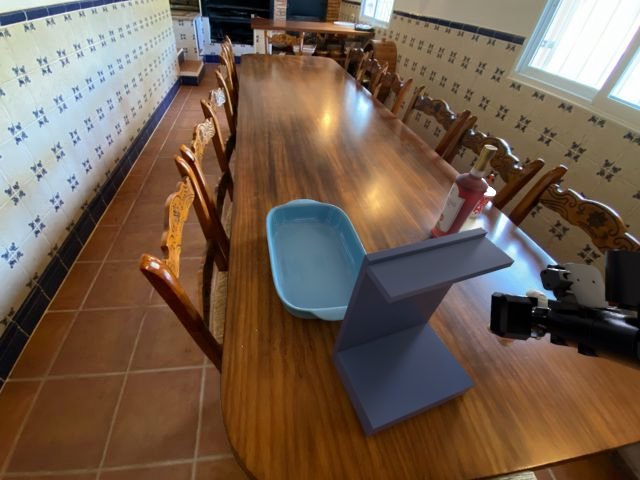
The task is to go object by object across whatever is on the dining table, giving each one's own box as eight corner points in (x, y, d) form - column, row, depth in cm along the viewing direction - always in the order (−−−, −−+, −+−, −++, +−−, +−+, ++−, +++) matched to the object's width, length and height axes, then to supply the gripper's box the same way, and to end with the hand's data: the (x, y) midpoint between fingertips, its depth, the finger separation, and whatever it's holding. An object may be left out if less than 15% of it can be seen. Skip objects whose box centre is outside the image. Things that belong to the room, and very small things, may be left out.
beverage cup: (483, 213, 94) (507, 175, 86) (478, 221, 91) (502, 183, 82) (463, 204, 97) (484, 167, 89) (457, 212, 94) (478, 174, 85)
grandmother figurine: (476, 324, 56) (510, 280, 48) (489, 317, 57) (524, 273, 50) (516, 361, 51) (561, 318, 43) (529, 352, 52) (575, 308, 44)
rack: (465, 393, 52) (572, 300, 34) (367, 437, 46) (435, 351, 28) (417, 327, 62) (481, 227, 44) (330, 356, 56) (364, 254, 38)
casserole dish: (386, 330, 60) (396, 311, 56) (278, 344, 57) (280, 324, 52) (336, 216, 88) (340, 196, 84) (261, 220, 85) (261, 200, 80)
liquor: (424, 228, 86) (467, 139, 69) (448, 230, 87) (498, 141, 69) (433, 246, 81) (483, 154, 63) (459, 248, 81) (516, 156, 63)
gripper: (693, 279, 36) (574, 270, 52) (536, 260, 37) (465, 256, 52) (696, 374, 35) (573, 335, 50) (533, 352, 36) (462, 321, 51)
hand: (517, 310), depth 51 cm, fingers closed on grandmother figurine, 3 cm apart
